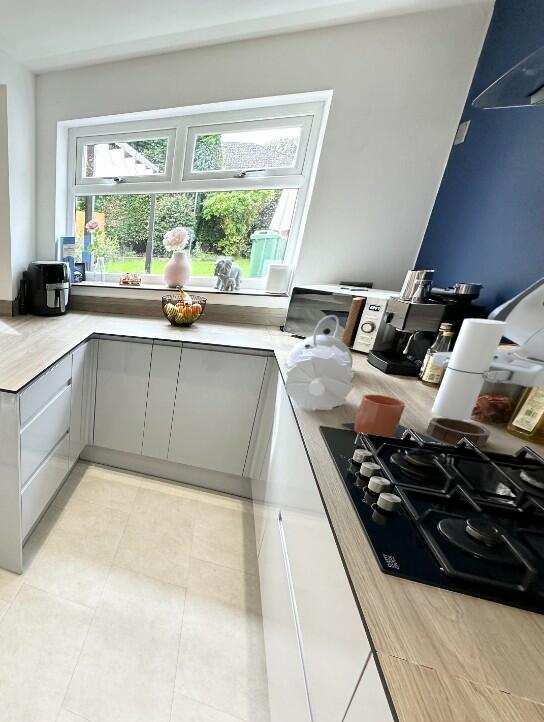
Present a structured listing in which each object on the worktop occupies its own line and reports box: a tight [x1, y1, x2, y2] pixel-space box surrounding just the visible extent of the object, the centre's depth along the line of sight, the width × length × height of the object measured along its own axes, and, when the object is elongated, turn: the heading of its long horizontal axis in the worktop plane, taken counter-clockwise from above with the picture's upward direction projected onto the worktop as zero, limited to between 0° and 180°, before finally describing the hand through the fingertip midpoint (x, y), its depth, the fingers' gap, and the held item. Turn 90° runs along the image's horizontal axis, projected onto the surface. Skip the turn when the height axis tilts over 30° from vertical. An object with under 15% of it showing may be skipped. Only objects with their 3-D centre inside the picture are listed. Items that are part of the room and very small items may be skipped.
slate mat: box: [341, 422, 444, 444], centre depth 109 cm, size 18×16×1 cm
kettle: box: [286, 314, 354, 371], centre depth 166 cm, size 25×23×22 cm
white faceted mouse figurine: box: [283, 345, 355, 412], centre depth 131 cm, size 18×18×25 cm
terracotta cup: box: [354, 393, 406, 437], centre depth 110 cm, size 9×9×10 cm
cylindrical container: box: [431, 318, 507, 421], centre depth 101 cm, size 7×7×25 cm
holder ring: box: [426, 416, 492, 448], centre depth 108 cm, size 11×11×4 cm
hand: (464, 370), depth 101 cm, fingers closed on cylindrical container, 7 cm apart
